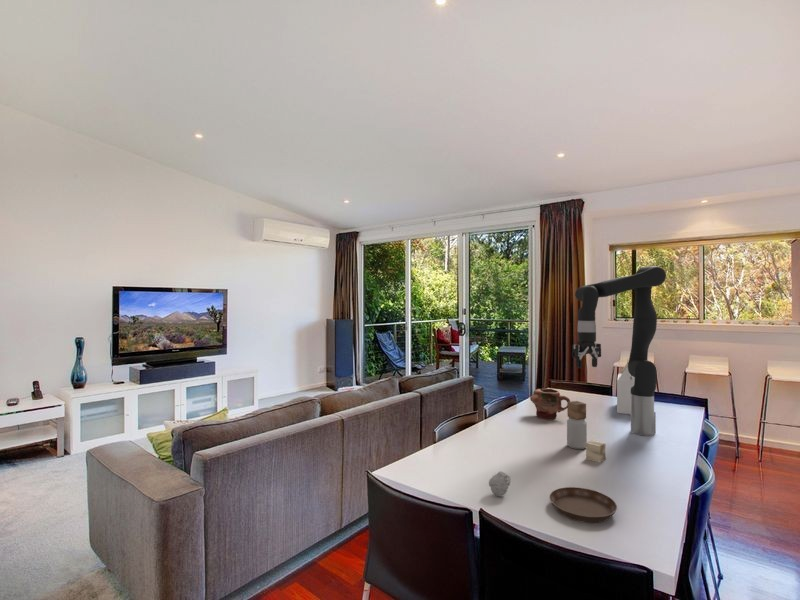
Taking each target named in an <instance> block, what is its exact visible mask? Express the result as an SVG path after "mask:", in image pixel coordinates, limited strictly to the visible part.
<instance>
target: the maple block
mask: <svg viewBox="0 0 800 600" xmlns="http://www.w3.org/2000/svg"><path fill="white" fill-rule="evenodd" d="M606 446H607V445H606V443H605V442H601V441H597V440H594V439H592V440H590V441H587V443H586V447H585V459H587V460H590V461H593V462H597V463H601V462H603V461H605V460H607V459H606V452H607V451H606V449H607V448H606Z"/></svg>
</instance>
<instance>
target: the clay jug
mask: <svg viewBox="0 0 800 600" xmlns="http://www.w3.org/2000/svg"><path fill="white" fill-rule="evenodd" d="M529 400H530V401H531V402H532V404H533V405H534V406H535V409H536V412H535V414H536V417H537V418H539V419H542V420H548V421H549V420H551V421H552V420H554V419H557V413H561V412H563V411H565V410H567V405H566V406H565V407H562V401H566V403H567V402H571V400H570V398H569V397H568V396H565V395H562V394H561V393H560V392H559V390H557V389H556V390H555V389H553V388H537V389H535V390H534V391H533V395H531V396H530V398H529Z"/></svg>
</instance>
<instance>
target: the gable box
mask: <svg viewBox="0 0 800 600" xmlns="http://www.w3.org/2000/svg"><path fill="white" fill-rule="evenodd" d="M626 359H627V363H625V365H624V367H623V368H622V370H620V372H618V374H617V379H616V413H617V414H626V415H631V387H633V386H634V382H635V377H633V376H632V375H631V374H630V373H629V371H628V362H629V358H626Z"/></svg>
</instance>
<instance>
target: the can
mask: <svg viewBox="0 0 800 600" xmlns="http://www.w3.org/2000/svg"><path fill="white" fill-rule="evenodd" d="M587 425H588V424H587V421H586V419H578V420H576V419H573V418H570V417H568V419H567V420H566V444H567V445H568V447H569V448H571V449H573V450H584V449H586V443H587V442H588V440H587V439H588V438H587V437H588V436H587V435H588V433H587V431H588V430H587V429H588V426H587Z"/></svg>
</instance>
